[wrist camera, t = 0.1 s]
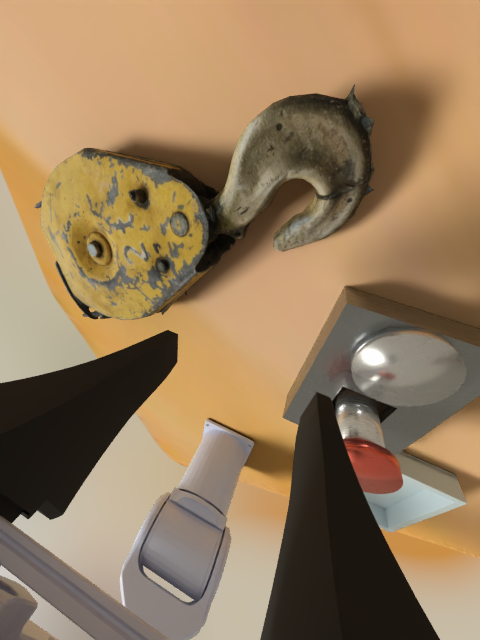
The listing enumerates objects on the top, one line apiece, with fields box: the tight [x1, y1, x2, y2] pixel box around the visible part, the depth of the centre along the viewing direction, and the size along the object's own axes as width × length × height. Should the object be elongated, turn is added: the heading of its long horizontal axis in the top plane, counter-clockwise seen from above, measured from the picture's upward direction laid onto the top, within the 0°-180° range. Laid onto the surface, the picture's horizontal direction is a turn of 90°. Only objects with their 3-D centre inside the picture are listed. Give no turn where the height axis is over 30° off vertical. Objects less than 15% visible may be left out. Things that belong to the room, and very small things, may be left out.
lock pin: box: [336, 387, 403, 494], centre depth 17 cm, size 4×4×8 cm
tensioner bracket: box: [283, 286, 480, 456], centre depth 18 cm, size 14×10×4 cm
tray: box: [363, 451, 467, 533], centre depth 25 cm, size 12×12×2 cm
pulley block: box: [35, 84, 374, 320], centre depth 17 cm, size 14×6×30 cm
